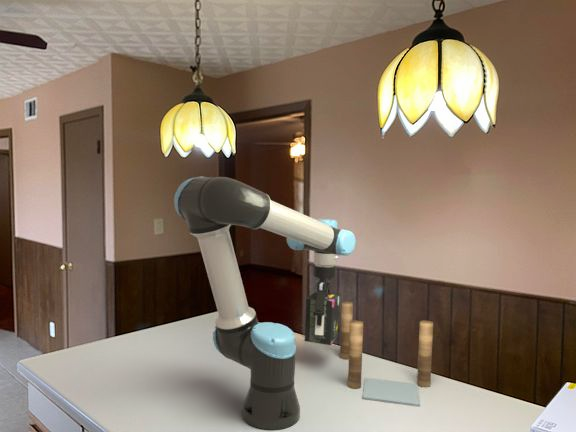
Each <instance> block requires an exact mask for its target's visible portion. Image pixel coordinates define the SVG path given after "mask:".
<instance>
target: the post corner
mask: <svg viewBox="0 0 576 432" xmlns="http://www.w3.org/2000/svg"><path fill="white" fill-rule="evenodd" d="M363 337H364V321H361V320H352V321H350V339H349V359H348V370H347V371H348V375H347V387H348V388H349V389H352V390H359V389H361V388H362V369H363V367H362V366H363V365H362V364H363V342H364V340H363V339H364V338H363Z"/></svg>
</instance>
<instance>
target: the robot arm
mask: <svg viewBox="0 0 576 432" xmlns="http://www.w3.org/2000/svg"><path fill="white" fill-rule="evenodd" d="M173 205H174V209H175V211H176V213H177V214H178V216H179V217H181V218H182V219H183V220H185V221H186V225H187V228H188V231H189V234H190V235H192V236H194V237H195V238H197V242H198V244H199V248H200V253H201V256H202V259H203V263H204V266H205V270H206V273H207V278H208V281H209V285H210V288H211V292H212V295H213V299H214V302H215V306H216V310H217V313H218V316H217V318H216V319H215V322H214V323H215V326H214V329H215V330H214V331H213V332H212V340H213V341H212V342H213V345H214V347H215V349H216V350H217V351H218V353H220V354H221V355H222V356H223V357H224V358H227V359H229V360H231V361H232V362H236V363H237V364H239V365H242V366H243V367H245V368H247V369H249V370H250V380H249V381H250V385H249V388H248V392H247V394H246V397H245V400H244V402H243V407H242V416H243V417H242V418H243V420H244V421H245V422H246V423H247V424H248V425H250V426H252V427H255V428H256V429H257V428H258V429H262V430H272V431H273V430H274V431H275V430H282V429H283V430H284V429H286V428H289V427H291V426H293V425H296V423H297V422H298V421H299V419H300V417H301V405H300V402H299V398H298V396H297V392H296V389H295V373H296V372H295V371H296V354H297V353H296V350H297V344H296V335H295V333H294V331H293V330H292V329H291V328H289V327H288V326H287V325H284V324H281V323H278V322H277V323H276V322H275V323H274V322H270V321H269V322H268V321H266V322H265V321H264V322H259V320H258V318H257V313H256V311H255V309H254V308H253V307H250V306H249V304H248V300H247V296H246V295H247V294H246V293H245V292H246V291H245V287H244V284H243V280H242V277H241V272H240V269H239V265H238V261H237V257H236V253H235V250H234V249H235V248H234V245H233V241H232V237H231V234H230V227H231V226H239V227H244V228H248V229H250V230H258V229H262V230H266V231H268V232H271V233H274V234H277V235H279V236H282V237H285V238H286V243H287V245H288V247H289V248H290V249H292V250H294V251H302V250H305V251H310V252H311V251H313V264H314V266H313V267H312V268H313V271H312V272H313V273H312V276H313V277H314V278H317V279H319V281H318V282H317V284H316V293H317V297H316V307H315V312H313V315H316V320H315V335H323V333H324V300H325V299H326V296H327V295H329V294H331V279H334V278H336V276H337V267H336V265H337V260H338V259H339V256H344V257H345V256H350V255H351V254H352V253H353V252H354V250H355V246H356V243H357V242H356V237H355V234H354V233H353V232H352V231H350V230H347V229H345V228H344V229H339V228H338V225H339V223H338V221H337V220H335V219H327V218H318V219H315V218H313V217H311V216H308V215H306V214H303V213H302V212H300V211H297V210H294V209H292V208H290V207H287V206H285V205H283V204H280V203H278V202H276V201H274V200H271V198H270V195H268V194H267V193H265V192H264V191H261V190H259V189H256V188H255V187H253V186H250V185H248V184H246V183H243V182H242V181H240V180H237V179H234V178H230V177H227V176H213V177H212V176H211V177H207V176H197V177H196V176H195V177H191V178H189V179H186V180H185V181H183V182H182V183H181V184H179V186H178V188H177V190H176V192H175V194H174V199H173ZM318 310H319V311H318Z"/></svg>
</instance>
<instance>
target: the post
mask: <svg viewBox="0 0 576 432" xmlns="http://www.w3.org/2000/svg"><path fill="white" fill-rule="evenodd" d="M433 331H434V322H433V321H430V320H425V319H424V320H420V321H419V332H418V333H419V334H418V350H417V351H418V352H417V354H418V355H417V373H416V376H417V378H416V379H417V380H416V384H417V386H418V387H419V386H420V387H419V388H422V387H429V388H430V387H431V380H432V379H431V376H432V359H433V358H432V357H433V356H432V354H433V335H434V332H433Z"/></svg>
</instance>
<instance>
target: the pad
mask: <svg viewBox="0 0 576 432" xmlns="http://www.w3.org/2000/svg"><path fill="white" fill-rule="evenodd" d="M362 399H363V400H367V401H374V402H382V403H389V404H397V405H405V406H413V407H419V406H420V407H421V403H420V401H421V400H420V393H419V386H418V385H417V382H416V383H414V382H406V381H405V382H404V381H398V380H388V379H381V378H372V377H365V378H364V383H363V392H362Z"/></svg>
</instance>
